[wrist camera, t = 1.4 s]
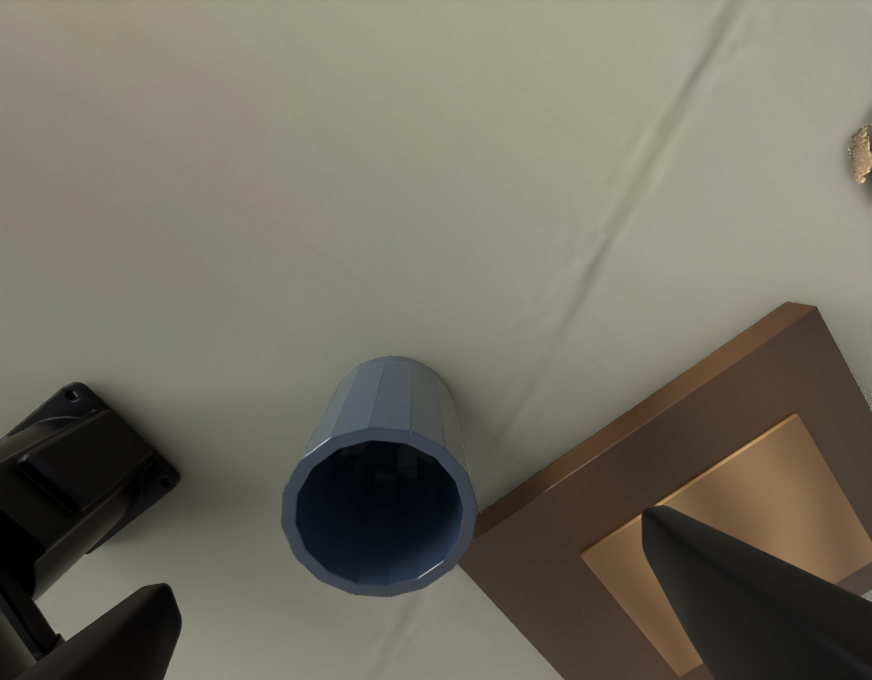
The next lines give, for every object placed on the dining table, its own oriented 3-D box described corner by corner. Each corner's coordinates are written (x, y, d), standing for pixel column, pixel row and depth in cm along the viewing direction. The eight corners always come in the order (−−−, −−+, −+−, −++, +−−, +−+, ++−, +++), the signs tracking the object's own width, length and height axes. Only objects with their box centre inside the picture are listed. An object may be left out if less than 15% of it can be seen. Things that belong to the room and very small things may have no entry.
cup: (384, 492, 21) (367, 627, 14) (304, 406, 20) (239, 505, 12) (478, 423, 20) (513, 528, 13) (402, 331, 19) (394, 388, 12)
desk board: (607, 710, 25) (620, 743, 23) (447, 534, 22) (450, 559, 20) (910, 527, 23) (948, 550, 21) (787, 300, 19) (821, 306, 18)
